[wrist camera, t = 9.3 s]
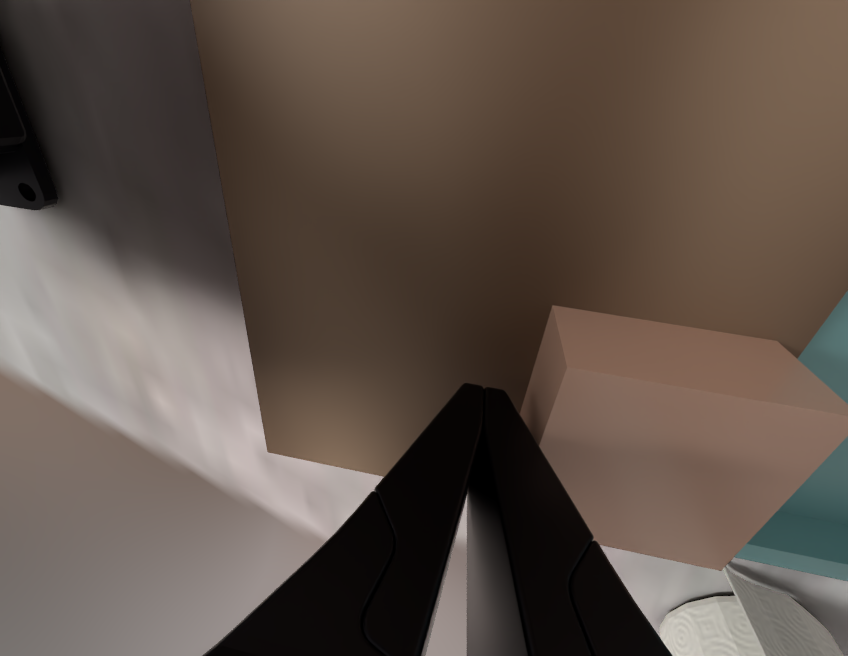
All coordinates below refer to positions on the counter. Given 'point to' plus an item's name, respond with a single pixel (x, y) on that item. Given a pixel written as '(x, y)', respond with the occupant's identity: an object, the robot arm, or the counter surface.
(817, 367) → the tray
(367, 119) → the walnut plate
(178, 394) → the counter surface
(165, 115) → the counter surface
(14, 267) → the counter surface
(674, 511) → the terracotta block
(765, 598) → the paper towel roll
